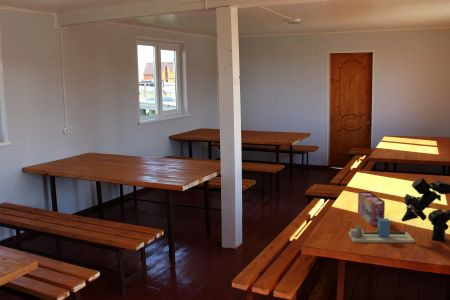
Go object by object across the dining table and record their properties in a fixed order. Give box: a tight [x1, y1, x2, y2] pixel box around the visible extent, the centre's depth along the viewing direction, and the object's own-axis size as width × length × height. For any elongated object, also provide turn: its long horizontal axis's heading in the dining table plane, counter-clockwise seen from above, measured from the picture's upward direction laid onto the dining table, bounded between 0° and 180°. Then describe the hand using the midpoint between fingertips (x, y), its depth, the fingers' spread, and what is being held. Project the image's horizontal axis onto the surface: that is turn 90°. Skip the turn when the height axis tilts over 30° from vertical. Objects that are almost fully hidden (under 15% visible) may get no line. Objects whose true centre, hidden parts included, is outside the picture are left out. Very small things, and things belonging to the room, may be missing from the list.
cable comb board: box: [348, 224, 416, 244], centre depth 240 cm, size 30×12×6 cm, turn 86°
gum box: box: [357, 191, 386, 226], centre depth 270 cm, size 24×8×14 cm, turn 3°
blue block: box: [376, 217, 391, 237], centre depth 240 cm, size 5×4×8 cm
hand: (402, 220), depth 238 cm, fingers closed
